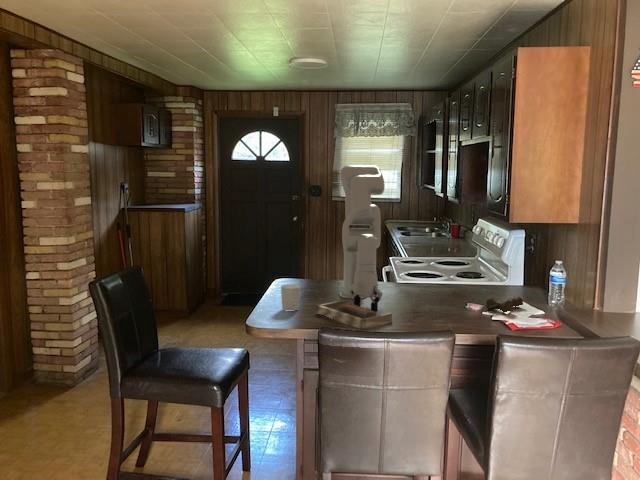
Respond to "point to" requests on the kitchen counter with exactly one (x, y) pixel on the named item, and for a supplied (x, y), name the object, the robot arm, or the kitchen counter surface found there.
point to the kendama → (503, 304)
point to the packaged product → (356, 310)
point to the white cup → (290, 296)
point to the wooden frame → (354, 321)
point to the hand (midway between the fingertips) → (365, 309)
